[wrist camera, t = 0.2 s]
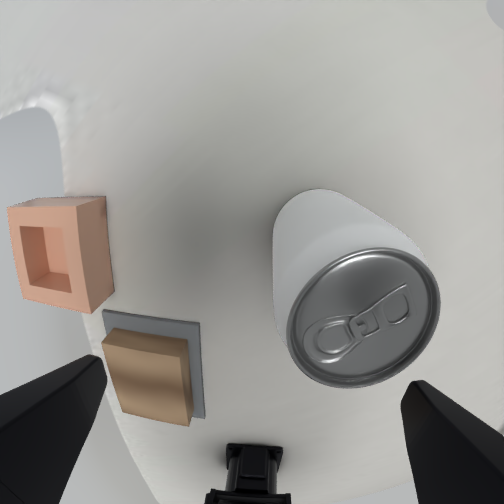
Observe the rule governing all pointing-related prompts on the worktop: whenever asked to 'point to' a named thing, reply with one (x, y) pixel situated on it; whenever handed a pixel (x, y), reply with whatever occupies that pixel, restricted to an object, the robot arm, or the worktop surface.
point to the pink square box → (62, 251)
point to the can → (349, 291)
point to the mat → (171, 330)
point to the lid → (150, 375)
